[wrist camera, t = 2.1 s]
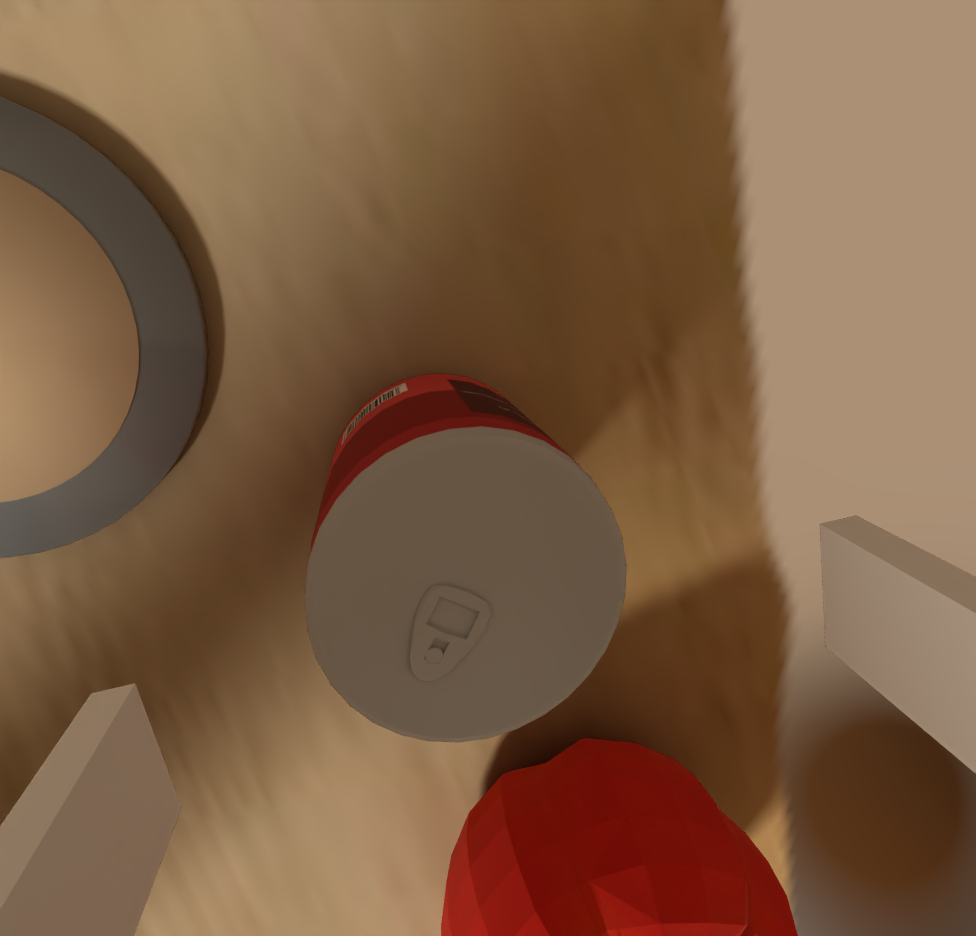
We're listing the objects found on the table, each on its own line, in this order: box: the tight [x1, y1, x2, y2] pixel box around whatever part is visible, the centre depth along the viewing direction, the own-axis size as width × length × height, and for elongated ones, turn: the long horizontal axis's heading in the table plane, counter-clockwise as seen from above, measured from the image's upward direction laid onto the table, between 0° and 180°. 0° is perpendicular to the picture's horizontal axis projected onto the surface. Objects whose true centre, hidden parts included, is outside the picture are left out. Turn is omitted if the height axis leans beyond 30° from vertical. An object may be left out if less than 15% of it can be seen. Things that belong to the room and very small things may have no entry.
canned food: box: [305, 374, 627, 742], centre depth 22 cm, size 8×8×11 cm
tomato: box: [441, 738, 798, 936], centre depth 27 cm, size 14×13×10 cm
